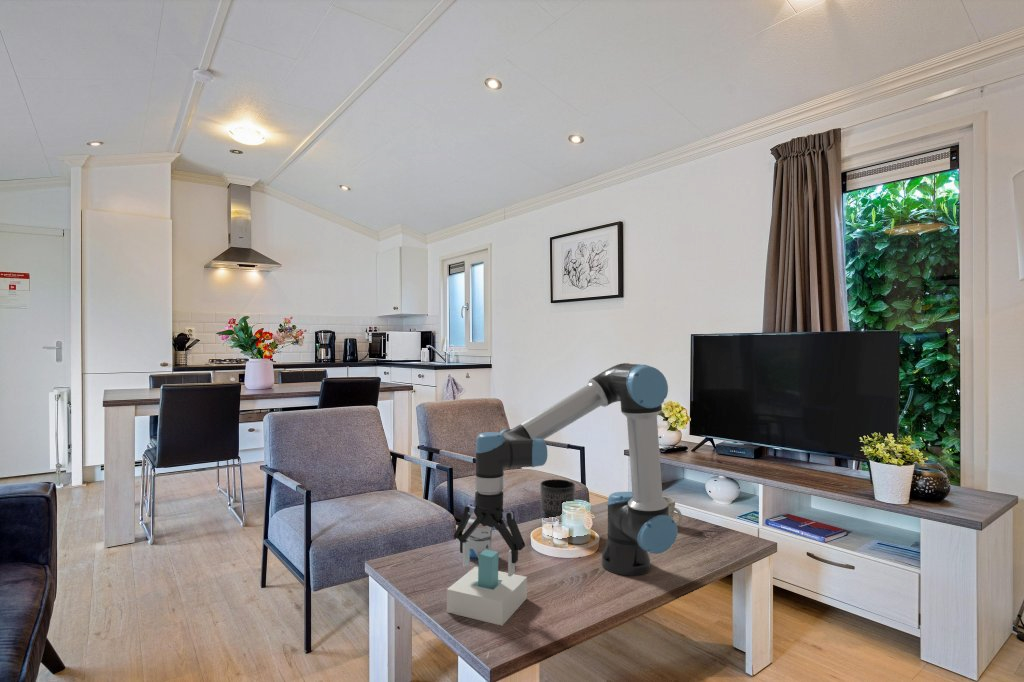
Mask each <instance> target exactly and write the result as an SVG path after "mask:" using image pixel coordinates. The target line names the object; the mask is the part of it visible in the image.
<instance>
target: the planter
mask: <svg viewBox="0 0 1024 682" xmlns="http://www.w3.org/2000/svg"><path fill="white" fill-rule="evenodd" d="M539 486H540V487H539V488H540V489H539V490H540V508H541V511H542V512H543V519H544V518H549V517H556V516H560V515H561V514H562V503H563V502H566V501H574V502H575V496H576V494H575V492H576V484H575V483H574V482H573V481H570V480H566V479H558V478H557V479H545V480H543V481H541V482H540V484H539Z"/></svg>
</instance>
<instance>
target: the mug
mask: <svg viewBox="0 0 1024 682" xmlns="http://www.w3.org/2000/svg"><path fill="white" fill-rule="evenodd" d="M662 497H663V498H664V499H665V500H666V501H667V502H668V507H669V517H671V518H673V519H674V515H675V514H674V513H677V515H678V517H679V518H678V521H677V522H675V523H676V525H677V526H680V525H681V523H682V522H683V514H682V512H681V510H680V509H679V508H676V507H675V506H676V500H675V499H673V498H672V497H665V496H662Z"/></svg>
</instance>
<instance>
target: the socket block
mask: <svg viewBox="0 0 1024 682" xmlns="http://www.w3.org/2000/svg"><path fill="white" fill-rule="evenodd" d="M527 587H528V577H527V576H524V575H520V574H515V573H514V574H513V575H512V576H511V577H510V576H508V572H505V571H500V570H498V586H497V587H496V588H495V589H493V590H492V589H488V588H483V587H479V586H478V566H474V567H473V568H471V569H469V571H468V572H466V573H465V574H464V575H463V576H462V577H460V578H459V579H457V581H456V582H454V583H453V584H451V585H450V586H449V587H448V588H447V589H446V613H450V614H453V615H457V616H461V617H465V618H470V619H474V620H477V621H481V622H486V623H489V624H494V625H496V626H504V625H505V623H506V622H507V621H508V620H509V619H510V618H511V617H512V616H513V614H514V613H515V612H516V611H517V610H518V609H519V608H520V606H521V605H522V604H523V603H524V602H525V601H527V598H528V597H527V596H528V593H527V592H528V588H527Z"/></svg>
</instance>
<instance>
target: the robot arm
mask: <svg viewBox="0 0 1024 682" xmlns="http://www.w3.org/2000/svg"><path fill="white" fill-rule="evenodd" d="M668 392H669V385H668V381H667V378H666V377H665V375H664V374H663V372H662V371H660V370H659V369H658V368H657V367H656V368H655V367H654V366H650V365H648V364H638V363H625V362H623V363H620V364H618V363H617V364H616V365H613V366H610V367H609V368H608V369H606V370H604V371H602V372H600V373H599V374H597V375H595V376H594V377H592V378H590V379H589V380H588V381H587V385H584V386H583V387H581V388H580V389H578V390H576V391H575V392H573V393H571V394H569V395H568V396H566V397H565V398H563V399H561V400H560V401H558V402H556V403H554V404H553V405H550V407H548V408H546V409H544V410H543V411H541V412H539V413H537V414H535V415H534V416H532V417H531V418H529V419H526V421H524V422H522V423H520V424H518V425H516V426H515V427H513V428H505V429H503V430H501V431H500V432H498V431H485V432H481V433H479V434H477V436H476V443H475V451H474V452H475V483H474V484H475V486H474V487H475V493H474V494H475V495H474V497H475V498H474V499H475V500H474V505H475V506H473V505H472V504H471V503H470V504H468V505H467V506H465V507H464V511H463V515H462V517H461V519H460V521H459V523H458V526H457V528H456V530H455V531H454V534H453V538H454V540H455V539H457V540H458V541H459V553H461V554H462V557H461V558H462V560H461V561H462V564H461V565H462V566H461V567H463V568H466V567H467V566H468V565H470V561H471V560H470V559H471V557H470V540H466V539H467V538H468V537H469V536H470V535H471V533H472V532H473V531H474V530H475V529H476V528H477V527H478V526H479V524H482V526H489V527H492V528H495V530H497V531H498V532H499V534H500V536H501V537H502V539H503V541H504V542H505V543H506V544H507V546H508V548H509V550H508V552H507V555H508V557H507V558H508V559H507V573H508V576H510V577H511V576H512V575H513V574H515V572H516V571H515V569H516V568H515V567H516V563H518V561H519V551H521V550H523V549H524V548H525V547H526V544H525V541H524V538H523V536H522V534H521V531H520V529H519V526H518V524H517V522H516V519H515V511H513V510H510V511H504V492H503V490H504V472H505V471H504V469H513V468H536V467H541V466H544V465H546V463H547V460H548V446H547V443H546V441H545V440H546V439H547V438H549V437H551V436H552V435H554V434H556V433H558V432H560V430H563V429H564V428H566V427H567V426H569V425H571V424H573V423H574V422H576V421H577V420H579V419H581V418H583V417H584V416H586V415H588V414H589V413H591V412H593V411H594V410H596V409H598V408H599V407H604V408H606V407H608V406H609V405H611V404H614V403H617V402H620V412H621V414H622V415H623V416H625V417H626V423H627V440H628V451H629V452H628V453H629V464H630V465H629V467H630V477H631V478H630V480H631V481H630V482H631V491H616V492H613V493H610V494H609V495H608V499H607V500H608V501H607V540H606V543H605V546H604V549H603V552H602V554H601V565H602V567H603V568H604V569H605V570H607V571H608V572H611V573H614V574H618V575H623V576H640V575H643V574H646V573H648V572H649V571H650V569H651V559H650V555H649V553H650V554H655V555H657V554H662V553H665V552H667V551H668V550H670V549H671V547H672V546H673V545H674V544H675V542H676V540H677V536H678V533H679V531H678V525H676V523H677V522H676V521H675V520H674V517H673V518H671V517H669V507H668V502H667V501H666V500H665V499H664V498H663V497H664V496H663V486H662V472H661V471H662V470H661V459H660V458H661V457H660V443H659V442H660V441H659V424H658V416H659V415H660V414H661V412H662V411H663V407H662V404H664V402H665V399H667V397H668ZM473 512H474V513H475V515H476V517H477V519H476V520H475V521H474V522H473V524H472V525H471V526H470V527H469V528H468V529H467V530H466V532H465V527H466V525H467V523H468V521H469V519H470V516H471V514H473ZM503 518H504V519H503ZM504 520H505V521H506V523H507V525H506V523H505V521H504ZM507 526H508V527H507Z"/></svg>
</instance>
